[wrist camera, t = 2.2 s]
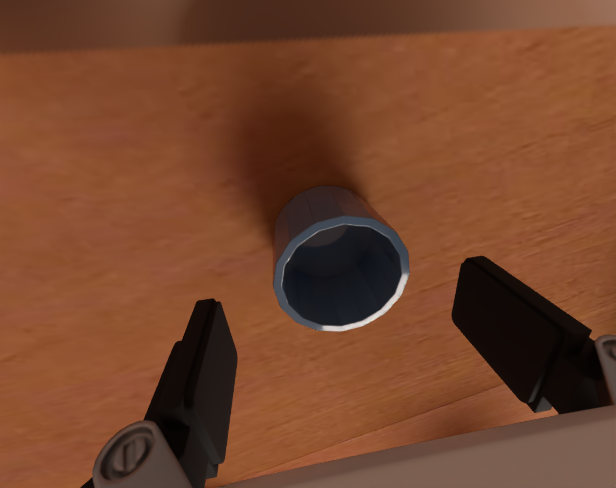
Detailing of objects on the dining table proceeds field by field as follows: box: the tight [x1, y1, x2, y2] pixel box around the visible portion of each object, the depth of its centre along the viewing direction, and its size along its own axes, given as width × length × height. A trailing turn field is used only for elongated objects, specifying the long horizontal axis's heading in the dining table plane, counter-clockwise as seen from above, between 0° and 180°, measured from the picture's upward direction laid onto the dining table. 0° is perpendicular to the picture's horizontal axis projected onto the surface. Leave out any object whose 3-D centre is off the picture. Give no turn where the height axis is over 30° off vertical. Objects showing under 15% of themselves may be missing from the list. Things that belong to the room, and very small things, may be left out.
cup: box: [273, 185, 410, 331], centre depth 14 cm, size 6×6×5 cm
